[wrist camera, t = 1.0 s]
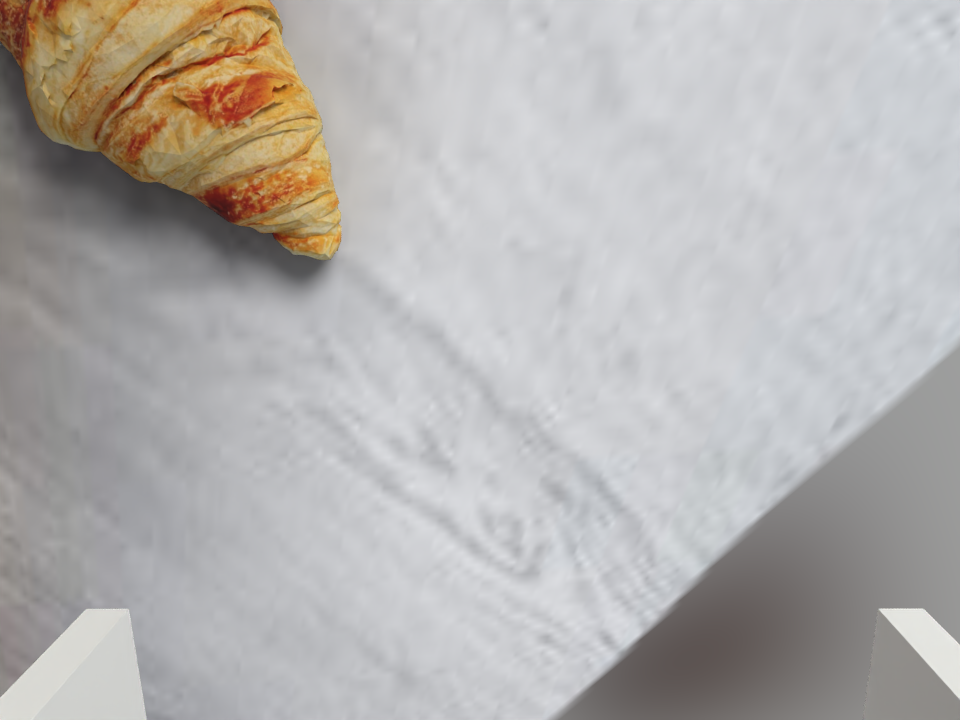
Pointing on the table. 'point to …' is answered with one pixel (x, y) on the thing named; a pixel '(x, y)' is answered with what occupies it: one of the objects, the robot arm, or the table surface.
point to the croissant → (184, 105)
